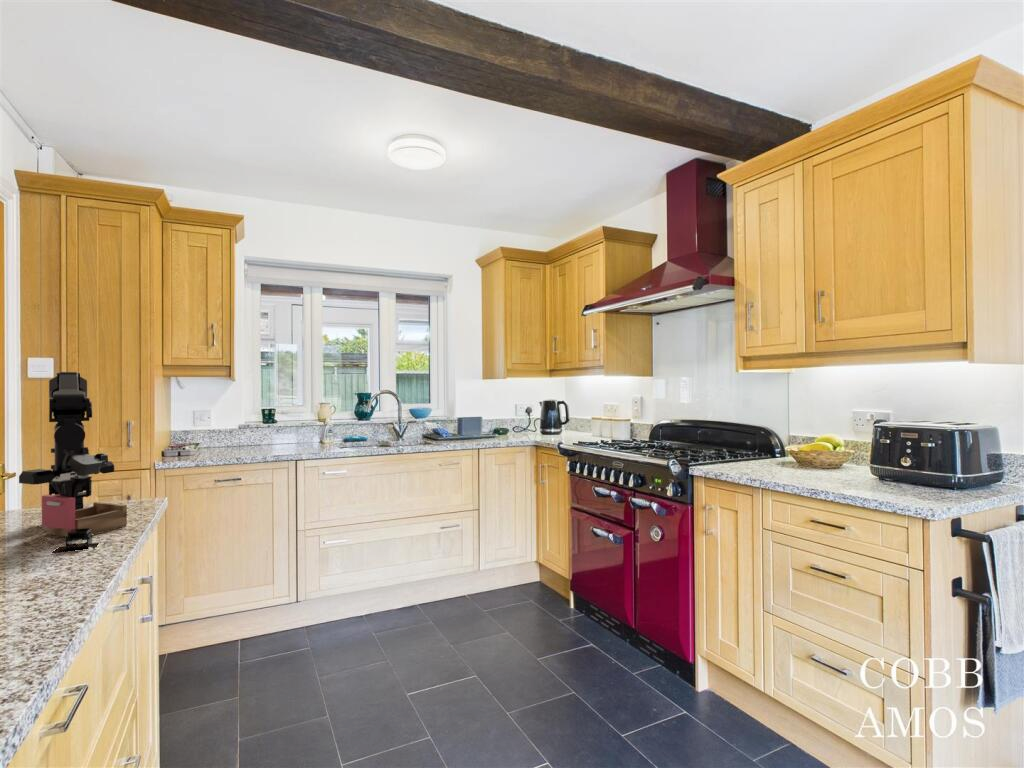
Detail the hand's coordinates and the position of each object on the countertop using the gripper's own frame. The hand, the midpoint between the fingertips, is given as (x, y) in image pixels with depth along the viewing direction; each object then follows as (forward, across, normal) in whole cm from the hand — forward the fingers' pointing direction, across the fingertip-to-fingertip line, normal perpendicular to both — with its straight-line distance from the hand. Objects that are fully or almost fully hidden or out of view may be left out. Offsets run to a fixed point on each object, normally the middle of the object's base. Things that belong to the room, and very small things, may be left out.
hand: (69, 506), depth 136 cm
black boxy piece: (+8, -6, -13) cm, 16 cm away
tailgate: (+5, -2, 0) cm, 5 cm away
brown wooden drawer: (+7, +4, 0) cm, 8 cm away
